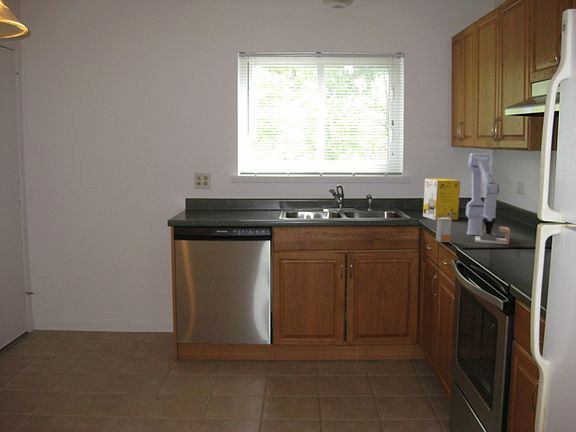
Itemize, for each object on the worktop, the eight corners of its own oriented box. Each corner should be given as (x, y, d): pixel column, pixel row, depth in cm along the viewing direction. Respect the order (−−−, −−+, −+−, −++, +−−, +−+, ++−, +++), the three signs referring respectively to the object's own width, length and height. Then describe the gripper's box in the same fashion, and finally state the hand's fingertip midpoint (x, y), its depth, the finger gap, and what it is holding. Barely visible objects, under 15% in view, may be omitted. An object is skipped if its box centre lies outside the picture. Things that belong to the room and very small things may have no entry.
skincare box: (439, 242, 304) (441, 218, 302) (435, 240, 308) (436, 217, 306) (450, 242, 306) (452, 218, 304) (446, 240, 310) (447, 217, 308)
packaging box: (422, 216, 400) (424, 178, 396) (444, 216, 404) (447, 178, 400) (435, 220, 384) (437, 180, 381) (457, 219, 388) (460, 180, 385)
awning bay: (475, 238, 319) (475, 225, 318) (507, 240, 315) (508, 227, 314) (475, 242, 308) (476, 228, 307) (509, 244, 303) (510, 230, 302)
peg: (484, 235, 313) (484, 224, 313) (490, 236, 312) (491, 224, 312) (484, 236, 310) (485, 225, 309) (491, 237, 309) (491, 225, 309)
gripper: (481, 204, 317) (479, 230, 319) (482, 208, 303) (480, 234, 305) (495, 205, 315) (493, 231, 317) (497, 208, 302) (495, 235, 303)
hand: (488, 233), depth 311 cm, fingers closed on peg, 3 cm apart
